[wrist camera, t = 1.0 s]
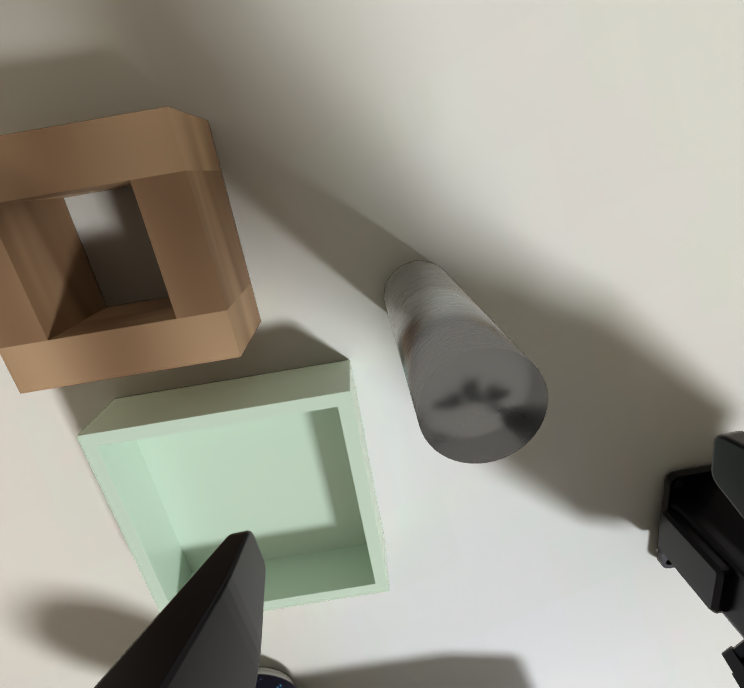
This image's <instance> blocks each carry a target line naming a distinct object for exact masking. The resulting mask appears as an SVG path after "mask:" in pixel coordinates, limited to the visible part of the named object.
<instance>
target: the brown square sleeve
mask: <svg viewBox="0 0 744 688" xmlns="http://www.w3.org/2000/svg"><path fill="white" fill-rule="evenodd" d="M128 186H132V188H133V191H134V194H135V197H136V200H137V203H138V206H139V209H140V212H141V215H142V218H143V221H144V224H145V227H146V230H147V233H148V235H149V238H150V241H151V244H152V247H153V250H154V253H155V256H156V259H157V262H158V265H159V268H160V271H161V274H162V277H163V280H164V283H165V286H166V289H167V292H168V295H169V297H164V298H158V299H152V300H146V301H140V302H134V303H128V304H122V305H117V306H111V307H106V305H105V302H104V300H103V297H102V294H101V292H100V289H99V287H98V284H97V282H96V279H95V277H94V274H93V272H92V269H91V267H90V264H89V262H88V259H87V257H86V254H85V251H84V249H83V246H82V244H81V241H80V239H79V236H78V234H77V231H76V229H75V226H74V224H73V221H72V219H71V216H70V214H69V211H68V208H67V206H66V203H65V201H64V197H69V196H75V195H81V194H87V193H93V192H99V191H104V190H110V189H116V188H122V187H128ZM260 322H261V319H260V316H259V312H258V308H257V304H256V301H255V297H254V293H253V289H252V285H251V282H250V278H249V274H248V270H247V266H246V263H245V259H244V255H243V251H242V248H241V244H240V240H239V236H238V232H237V229H236V225H235V221H234V217H233V214H232V210H231V206H230V202H229V198H228V195H227V191H226V187H225V183H224V180H223V176H222V172H221V168H220V164H219V161H218V157H217V153H216V149H215V146H214V142H213V138H212V134H211V130H210V127H209V123H208V121H207V120H204V119H201V118H199V117H196V116H193V115H190V114H187V113H185V112H182V111H179V110H176V109H173V108H170V107H168V106H167V107H162V108H156V109H150V110H144V111H139V112H133V113H127V114H121V115H115V116H110V117H104V118H98V119H92V120H87V121H81V122H75V123H69V124H63V125H58V126H52V127H46V128H40V129H35V130H29V131H23V132H17V133H11V134H6V135H0V354H1V356H2V358H3V360H4V362H5V364H6V366H7V368H8V370H9V372H10V374H11V376H12V378H13V380H14V382H15V384H16V386H17V388H18V390H19V392H20V394H21V393H27V392H33V391H39V390H45V389H51V388H57V387H63V386H69V385H75V384H81V383H87V382H93V381H99V380H105V379H111V378H117V377H123V376H129V375H135V374H141V373H147V372H153V371H159V370H165V369H171V368H177V367H183V366H189V365H195V364H201V363H207V362H213V361H219V360H225V359H231V358H237V357H241V355H242V354H243V352H244V350H245V348H246V347H247V345H248V343H249V342H250V340H251V338H252V336H253V335H254V333H255V331H256V329H257V328H258V326H259V324H260Z"/></svg>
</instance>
